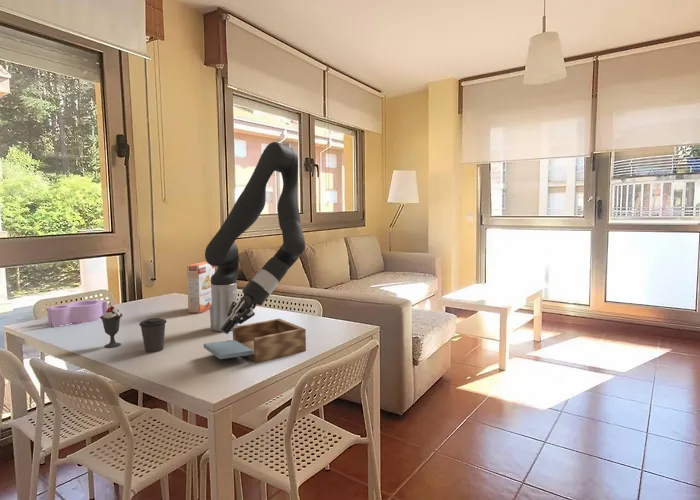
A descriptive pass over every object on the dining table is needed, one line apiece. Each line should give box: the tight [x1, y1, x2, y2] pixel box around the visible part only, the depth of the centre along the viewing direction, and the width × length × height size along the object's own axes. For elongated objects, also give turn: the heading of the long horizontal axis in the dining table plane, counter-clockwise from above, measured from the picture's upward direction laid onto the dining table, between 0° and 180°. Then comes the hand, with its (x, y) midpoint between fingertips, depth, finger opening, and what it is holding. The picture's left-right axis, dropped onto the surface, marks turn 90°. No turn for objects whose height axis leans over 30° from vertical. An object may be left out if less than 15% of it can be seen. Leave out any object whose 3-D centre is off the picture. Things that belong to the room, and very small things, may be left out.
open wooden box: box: [232, 318, 307, 363], centre depth 140 cm, size 17×17×7 cm
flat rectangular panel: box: [203, 339, 253, 360], centre depth 132 cm, size 2×13×10 cm
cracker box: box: [186, 261, 216, 314], centre depth 195 cm, size 14×6×21 cm, turn 168°
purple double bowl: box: [46, 298, 109, 327], centre depth 178 cm, size 20×12×7 cm, turn 140°
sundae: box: [99, 302, 123, 349], centre depth 145 cm, size 7×7×15 cm
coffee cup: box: [138, 317, 167, 354], centre depth 140 cm, size 8×8×10 cm
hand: (223, 331), depth 131 cm, fingers closed
